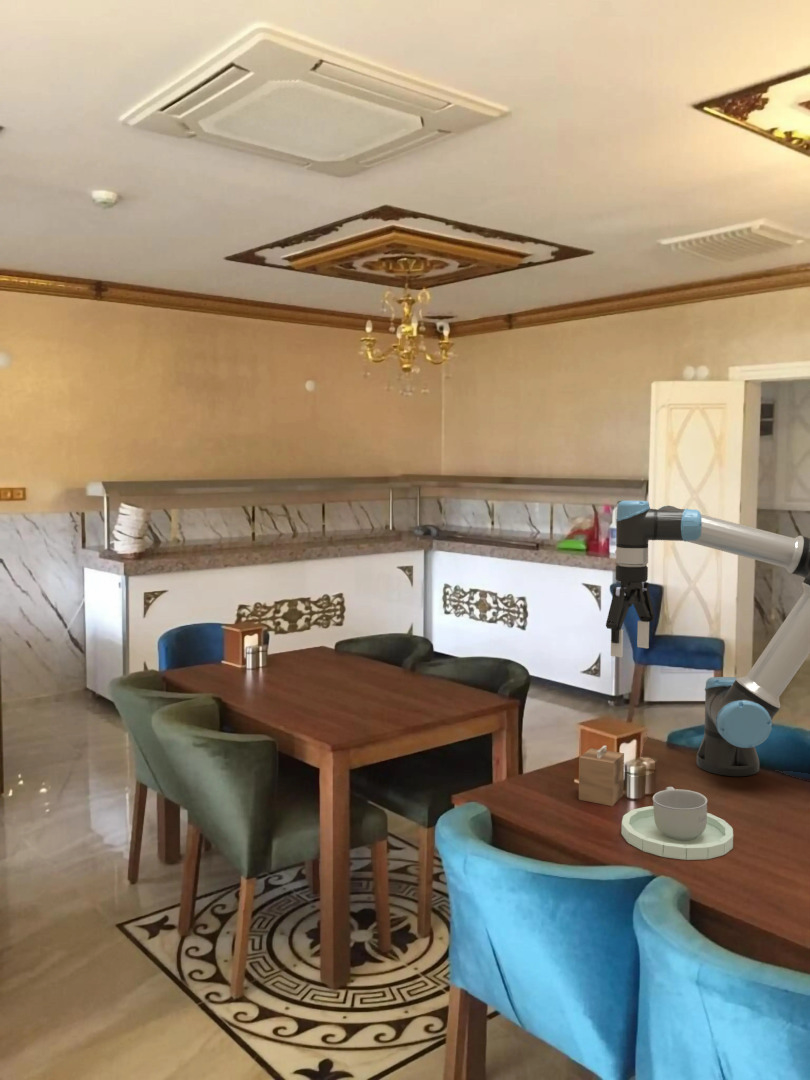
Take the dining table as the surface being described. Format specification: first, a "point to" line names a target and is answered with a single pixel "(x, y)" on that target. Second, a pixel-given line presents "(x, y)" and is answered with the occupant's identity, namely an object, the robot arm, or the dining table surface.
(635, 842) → the tray
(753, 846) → the dining table surface
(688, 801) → the teacup
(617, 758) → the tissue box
